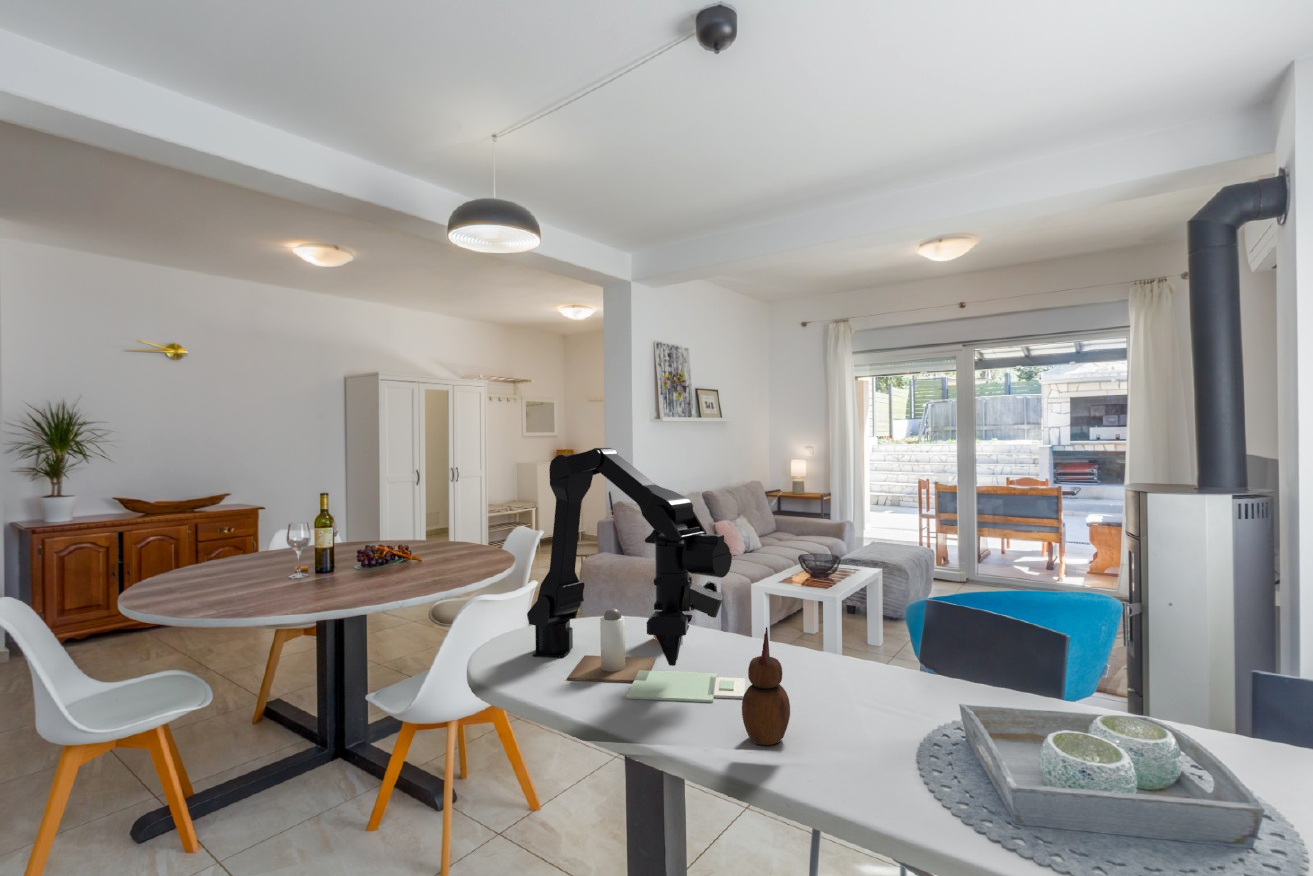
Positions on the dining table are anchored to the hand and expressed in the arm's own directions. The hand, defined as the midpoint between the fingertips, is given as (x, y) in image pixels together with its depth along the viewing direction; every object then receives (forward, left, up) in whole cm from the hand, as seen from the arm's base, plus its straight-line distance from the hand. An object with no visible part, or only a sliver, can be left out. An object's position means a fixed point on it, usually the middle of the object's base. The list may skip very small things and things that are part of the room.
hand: (673, 662), depth 108 cm
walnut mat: (-12, +7, -4) cm, 14 cm away
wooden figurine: (+15, -18, -4) cm, 24 cm away
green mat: (0, 0, -4) cm, 4 cm away
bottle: (-12, +7, -4) cm, 14 cm away
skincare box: (-4, +24, -4) cm, 25 cm away
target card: (+9, 0, -4) cm, 10 cm away
